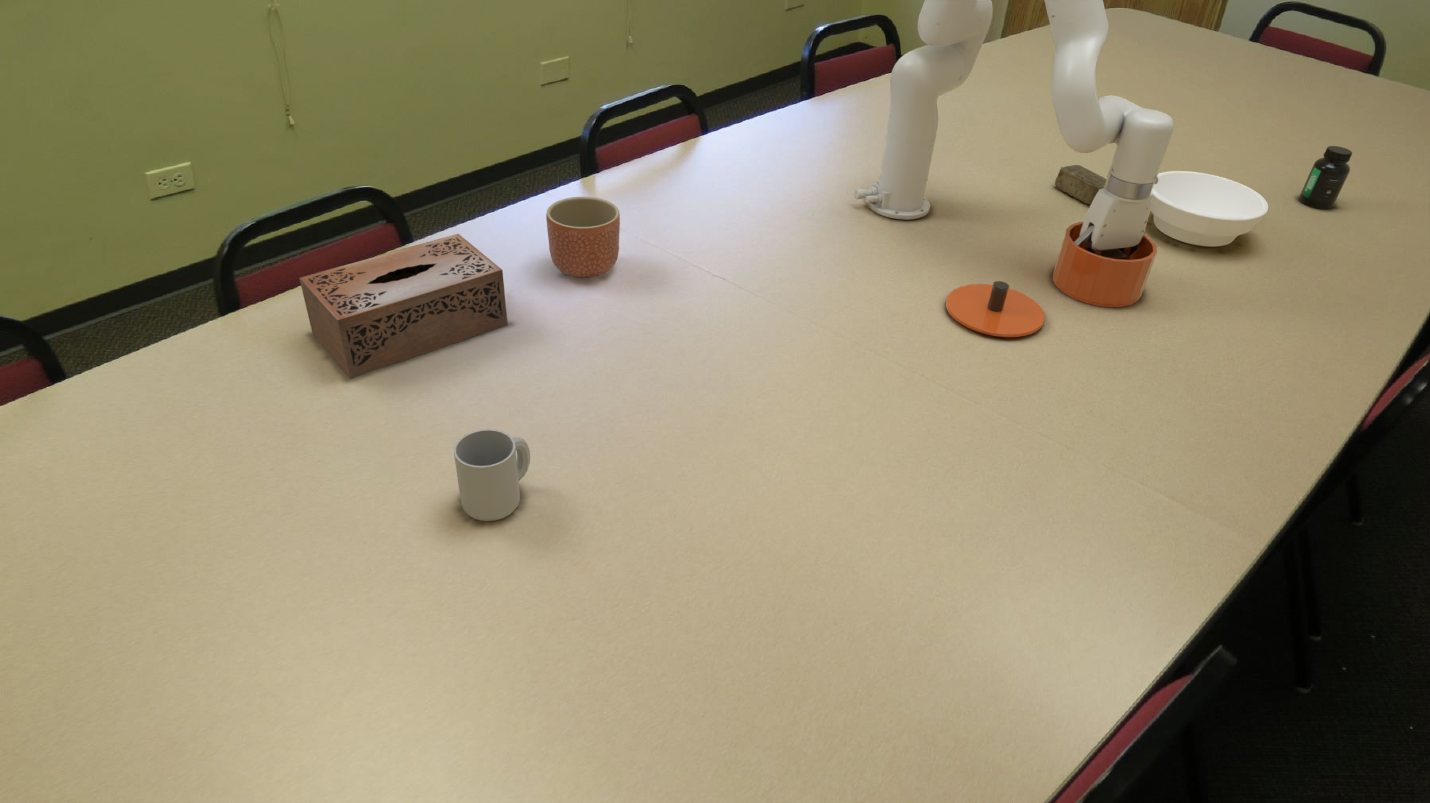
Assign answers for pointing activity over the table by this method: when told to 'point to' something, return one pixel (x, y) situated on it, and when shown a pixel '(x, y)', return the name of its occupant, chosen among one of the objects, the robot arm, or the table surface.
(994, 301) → the pan lid
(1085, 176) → the stone block
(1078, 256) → the pan
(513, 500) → the cup
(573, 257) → the planter
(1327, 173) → the supplement bottle
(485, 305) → the tissue box cover
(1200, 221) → the bowl
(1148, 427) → the table surface
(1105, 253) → the metal block
